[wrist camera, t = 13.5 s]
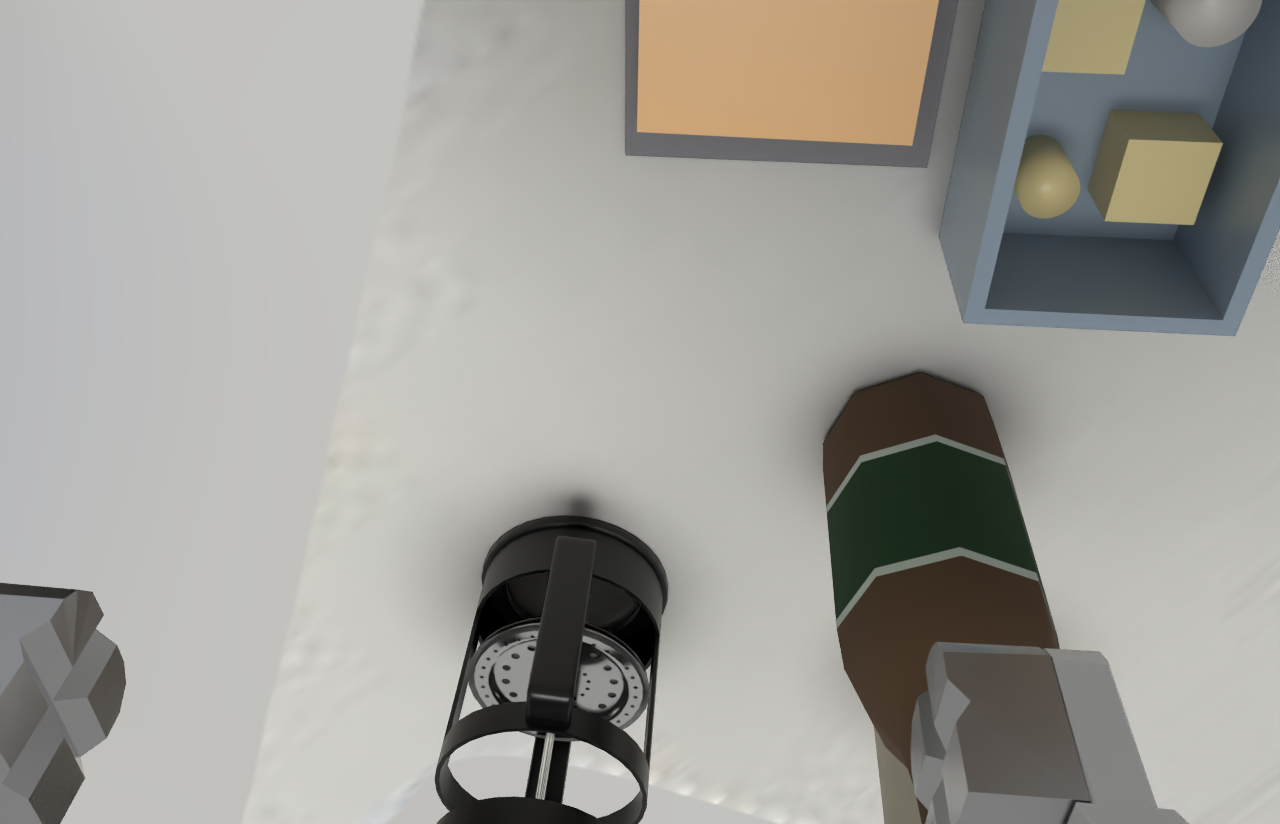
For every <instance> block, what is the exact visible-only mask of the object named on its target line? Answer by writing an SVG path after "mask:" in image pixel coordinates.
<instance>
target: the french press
mask: <svg viewBox="0 0 1280 824" xmlns="http://www.w3.org/2000/svg"><path fill="white" fill-rule="evenodd" d="M543 572H550V575H549V580H548V585H547V590H546V595H545V601H544V606H543V611H542V616H541V617H539V618H530V617H529V616H527V615H526V614H525V613H524V612H523V611H522V610H521V609H520V608H519V607H518V606H517V605H516V604H515V602H514V601H513V599H512V598H511V596H510V593H509V590H508V585H507V582H510V581H512V580H514V579H517V578H519V577H522V576H526V575H531V574H535V573H543ZM592 577H595V578H597V579H600V580H603V581H606V582H609V583H611V584H612V585H614V586H616V587H618V588H620V589H622V590H624V591H625V592H626V593H628V594H629V595H630V596H632V597H633V598H634V599H636V600H637V601H638V602H639V603H640V606H639V607H638V609H637V610H636V612H635V613H634V614H633V615H632V616H631V617H630V618H629V619H628V620H627V621H625V622H624V623H622V624H620V625H619V626H616V627H614V628H611V629H609V630H604V629H602V628H600V627H597V626H595V625H592V624H590V623H587V622H585V620H586V613H587V607H588V600H589V593H590V587H591V580H592ZM482 586H483V588H482V592H481V596H480V600H479V603H478V607H477V611H476V615H475V619H474V623H473V627H472V631H471V635H470V639H469V643H468V647H467V651H466V655H465V658H464V662H463V666H462V670H461V674H460V678H459V682H458V686H457V690H456V694H455V698H454V702H453V706H452V710H451V713H450V717H449V721H448V725H447V729H446V733H445V737H444V741H443V745H442V749H441V753H440V757H439V761H438V765H437V769H436V775H435V784H436V790H437V793H438V795H439V797H440V799H441V801H442V803H443V804H444V805H445V807H446V808H447V809H448V810H449V811H450V812H448V813H447V814H446V815H445V816H444V817H443V818H441V819H440V820H439V821H438V822H437V824H638V823H639V822H640V820H641V819H642V818H643V815H644V812H645V810H646V807H647V794H648V782H649V769H650V757H651V744H652V731H653V719H654V706H655V694H656V681H657V668H658V656H659V643H660V630H661V618H662V615H663V613H664V610H665V607H666V604H667V598H668V583H667V579H666V575H665V571H664V569H663V567H662V565H661V564H660V562H659V560H658V558H657V557H656V556H655V555H654V553H653V552H652V551H651V550H650V549H649V548H648V546H646V545H645V544H644V543H642V542H641V541H640V540H639V539H637V538H636V537H635V536H633V535H631V534H630V533H628V532H626V531H624V530H622V529H620V528H619V527H616V526H613V525H610V524H607V523H605V522H602V521H598V520H593V519H588V518H583V517H568V516H560V517H548V518H542V519H538V520H534V521H530V522H527V523H525V524H522V525H520V526H518V527H516V528H513V529H512V530H510V531H509V532H508V533H506V534H505V535H503V536H502V537H501V538H500V539H499V540H498V541H497V542H496V543H495V544H494V546H493V547H492V548H491V549H490V551H489V553H488V555H487V557H486V559H485V562H484V566H483V572H482ZM478 640H479V642H480V644H481V645H480V646H479V648H478V649H477V651H476V648H477V644H478ZM650 665H651V672H650V683H649V682H648V679H647V674H646V671H645V670H646V669H647V668H648V667H649V666H650ZM468 681H469V686H470V689H471V691H472V693H473V696H474V697H475V699H476V700H477V701H478V703H479V704H480V705H481V707H482V708H483V709H480V710H478V711H475V712H472V713H471V714H469V715H467V716H466V717H464V718H463V719H461V720H459V717H460V713H461V709H462V705H463V701H464V697H465V693H466V689H467V685H468ZM647 703H648V707H647V719H646V730H645V742H644V753H643V752H642V750H641V749H640V747H639V746H638V744H637V743H636V742H635V741H634V740H633V739H632V738H631V737H630V736H629V735H628V734H627V733H626V732H625V731H623V729H625V728H627V727H628V726H630V725H631V724H632V723H633V722H635V721H636V720H637V719H638V718H639V717H640V716H641V714H642V713H643V711H644V710H645V709H646V706H647ZM512 731H519V732H522V733H525V734H528V735H532V736H535V743H534V748H533V754H532V760H531V765H530V771H529V777H528V783H527V788H526V794H525V797H497V798H496V797H495V798H489V799H484V800H477V799H476V798H474V797H473V796H471V795H470V794H469V793H468V792H467V791H465V790H464V789H463V788H462V787H461V786H460V785H459V783H458V782H457V781H456V780H455V779H454V777H453V776H452V773H451V772H450V769H449V767H448V762H449V758H450V755H451V754H452V753H453V752H454V751H455V750H456V749H457V748H459V747H461V746H463V745H464V744H466V743H468V742H469V741H472V740H475V739H477V738H480V737H483V736H486V735H491V734H496V733H502V732H512ZM571 741H583V742H587V743H589V744H591V745H593V746H595V747H597V748H599V749H602V750H604V751H605V752H607V753H608V754H610V755H611V756H613V757H615V758H616V759H618V760H619V761H620V762H621V763H622V764H623V765H624V766H625V767H626V768H627V769H629V770H630V771H631V773H632V774H633V776H634V777H635V779H636V780H637V782H638V783H639V786H640V792H639V793H638V795H637V796H636V797H635V798H634V799H633V800H632V801H631V802H630V803H629V804H627V805H626V806H625V807H623V808H622V809H620V810H618V811H616V812H614V813H612V814H610V815H608V816H604V817H601V818H598V819H597V818H596V817H594V816H592V815H590V814H588V813H585V812H583V811H581V810H579V809H577V808H574V807H570V806H567V805H564V804H562V801H563V794H564V788H565V780H566V774H567V767H568V760H569V753H570V747H571Z"/></svg>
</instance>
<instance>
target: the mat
mask: <svg viewBox="0 0 1280 824" xmlns="http://www.w3.org/2000/svg"><path fill="white" fill-rule="evenodd" d="M957 2H958V0H939V3H938V9H937V14H936V20H935V25H934V30H933V36H932V41H931V47H930V52H929V58H928V63H927V68H926V74H925V79H924V85H923V90H922V96H921V101H920V106H919V112H918V117H917V123H916V128H915V134H914V139H913V144H912V146H908V145H887V144H867V143H847V142H827V141H807V140H787V139H767V138H747V137H727V136H707V135H687V134H667V133H647V132H637V105H638V52H639V0H626V110H625V155H630V156H655V157H679V158H703V159H728V160H752V161H776V162H801V163H825V164H849V165H874V166H898V167H922V168H927V165H928V160H929V155H930V149H931V144H932V138H933V133H934V127H935V122H936V117H937V111H938V106H939V100H940V95H941V89H942V84H943V78H944V73H945V68H946V62H947V57H948V51H949V46H950V40H951V35H952V30H953V24H954V19H955V13H956V8H957Z"/></svg>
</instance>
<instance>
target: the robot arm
mask: <svg viewBox="0 0 1280 824" xmlns="http://www.w3.org/2000/svg"><path fill="white" fill-rule="evenodd" d="M103 615H104V614H103V612H102V610H101V608H100V607H99V604H98V602H97V600H96V598H95V596H94V594H93V592H89V591H83V590H75V589H64V588H52V587H41V586H30V585H19V584H8V583H0V824H60V823H61V821H62V819H63V817H64V816H65V814H66V812H67V810H68V808H69V806H70V805H71V803H72V801H73V799H74V797H75V795H76V794H77V791H78V790H79V788H80V786H81V784H82V782H83V781H84V779H85V776H84V771H83V767H82V762H81V758H80V757H81V756H82V755H84V754H85V753H87V752H88V751H89V750H91V749H92V748H94V747H95V746H96V745H98V744H99V743H100V742H102V741H103V740H105V739H106V738H107V736H108V734H109V732H110V730H111V728H112V726H113V724H114V722H115V720H116V718H117V717H118V714H119V712H120V708H121V703H122V699H123V694H124V690H125V685H126V679H125V668H124V661H123V659H122V656H121V654H120V651H119V649H118V646H117V645H116V644H115V643H114V642H112V641H111V640H110V639H108V638H107V637H106V636H104V635H103V634H102V633H100V632H99V631H98V630H96V627H97V625H98V624H99V622H100V620H101V619H102V617H103ZM925 670H926V676H927V683H928V689H929V690H927V691H926V692H924V693H923V694H922V695H920V696H919V697H917V701H916V706H915V710H914V715H913V719H912V732H911V746H910V750H911V768H912V778H913V786H914V794H915V796H916V797H917V798H918V799H919V801H920V802H921V803H922V804H923V805H924V806H925V807H926V809H927V810H928V815H927V818H926V822H925V824H1189V823H1188V822H1187V821H1186V820H1185V819H1184V818H1183V817H1182V816H1181V815H1180V814H1179V813H1177V812H1176V811H1175V810H1172V809H1163V808H1157V805H1156V802H1155V799H1154V796H1153V793H1152V790H1151V787H1150V784H1149V781H1148V778H1147V775H1146V772H1145V769H1144V766H1143V764H1142V761H1141V758H1140V755H1139V752H1138V749H1137V746H1136V743H1135V740H1134V737H1133V734H1132V731H1131V728H1130V725H1129V722H1128V719H1127V716H1126V713H1125V710H1124V707H1123V704H1122V701H1121V698H1120V695H1119V692H1118V689H1117V686H1116V683H1115V681H1114V678H1113V675H1112V672H1111V669H1110V666H1109V663H1108V661H1107V659H1106V658H1105V657H1104V656H1103V655H1102V654H1101V653H1100V652H1097V651H1081V650H1065V649H1048V648H1044V649H1041V648H1040V647H1028V646H1008V645H988V644H968V643H948V642H935V643H934V645H933V646H932V648H931V649H930V652H929V655H928V659H927V663H926V666H925Z"/></svg>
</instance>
